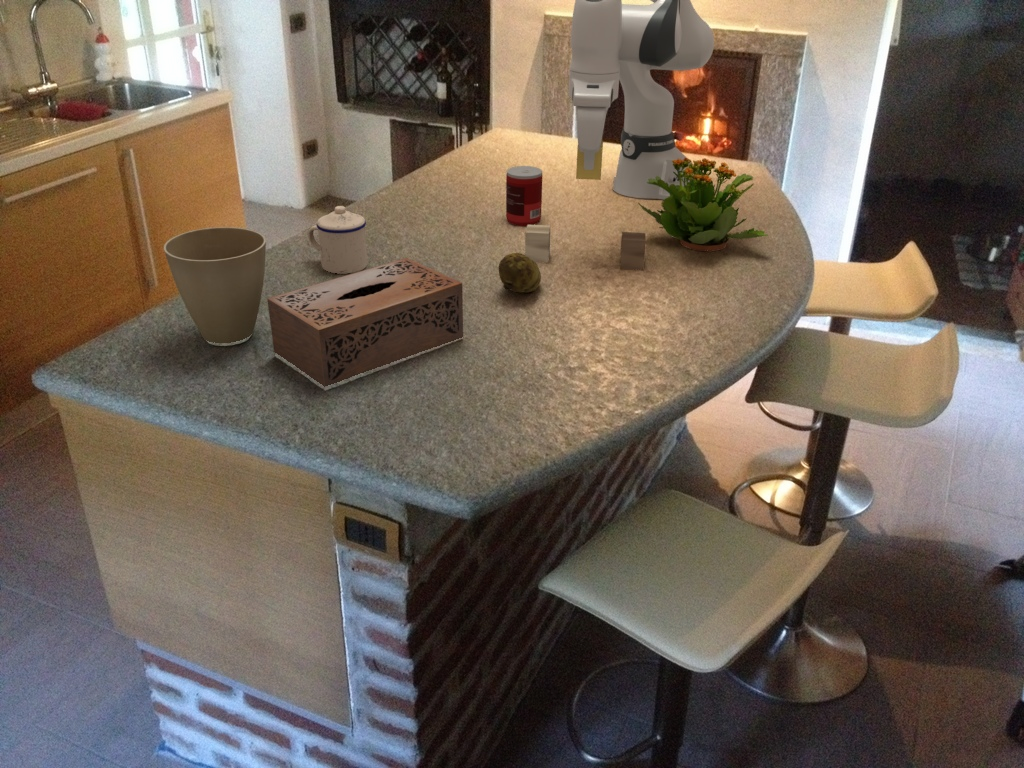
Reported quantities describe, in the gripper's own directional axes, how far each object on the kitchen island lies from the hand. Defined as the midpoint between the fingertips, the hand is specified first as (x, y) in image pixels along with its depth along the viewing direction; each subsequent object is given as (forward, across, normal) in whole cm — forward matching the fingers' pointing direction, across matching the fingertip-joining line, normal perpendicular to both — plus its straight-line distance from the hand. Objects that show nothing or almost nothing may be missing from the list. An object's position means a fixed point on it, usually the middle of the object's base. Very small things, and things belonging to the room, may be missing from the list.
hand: (589, 164), depth 165 cm
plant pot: (+19, +41, -55) cm, 71 cm away
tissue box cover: (+20, +42, -32) cm, 56 cm away
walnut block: (+19, +1, +9) cm, 21 cm away
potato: (+19, +16, -11) cm, 27 cm away
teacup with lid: (+19, +8, -47) cm, 51 cm away
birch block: (+19, -1, -9) cm, 21 cm away
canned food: (+19, -23, -14) cm, 33 cm away
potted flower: (+19, -13, +24) cm, 33 cm away
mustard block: (+2, 0, 0) cm, 2 cm away
